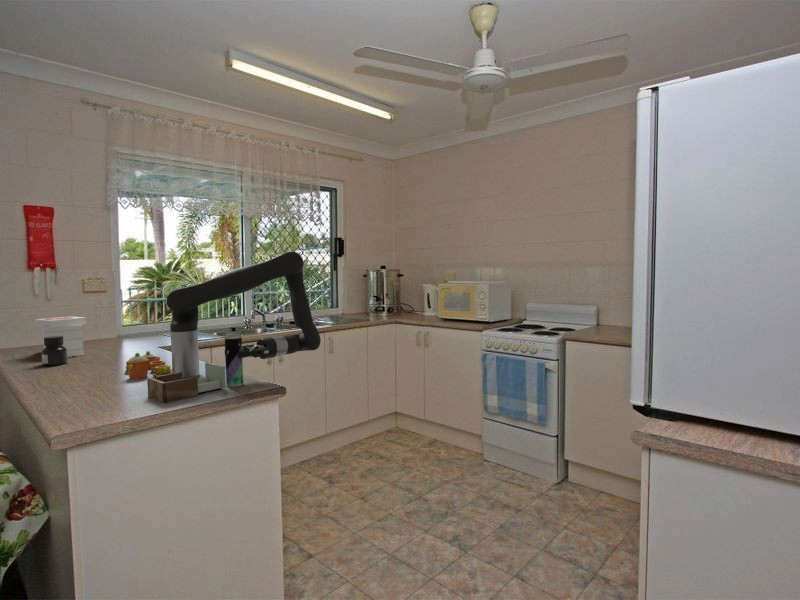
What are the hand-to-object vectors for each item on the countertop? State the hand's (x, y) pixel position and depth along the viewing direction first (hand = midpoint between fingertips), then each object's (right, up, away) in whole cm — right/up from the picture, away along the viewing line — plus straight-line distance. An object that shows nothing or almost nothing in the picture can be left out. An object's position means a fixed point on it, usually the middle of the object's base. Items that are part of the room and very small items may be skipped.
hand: (231, 353), depth 158 cm
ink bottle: (-93, -10, +43) cm, 103 cm away
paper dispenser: (-108, -8, +69) cm, 128 cm away
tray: (-8, -11, -5) cm, 15 cm away
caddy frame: (-14, -12, -11) cm, 21 cm away
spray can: (+1, -11, +1) cm, 11 cm away
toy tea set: (-42, -11, +23) cm, 49 cm away
